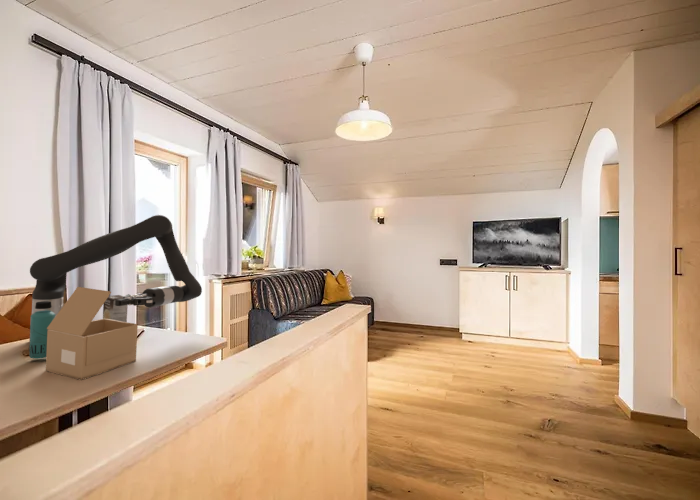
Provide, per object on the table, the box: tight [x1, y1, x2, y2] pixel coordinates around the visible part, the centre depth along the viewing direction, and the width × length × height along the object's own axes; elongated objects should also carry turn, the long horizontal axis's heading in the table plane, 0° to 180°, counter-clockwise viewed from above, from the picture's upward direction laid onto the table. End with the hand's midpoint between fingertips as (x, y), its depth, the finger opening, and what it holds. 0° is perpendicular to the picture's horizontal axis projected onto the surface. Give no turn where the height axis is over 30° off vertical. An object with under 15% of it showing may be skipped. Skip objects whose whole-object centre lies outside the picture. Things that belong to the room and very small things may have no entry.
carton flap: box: [47, 286, 112, 336], centre depth 108 cm, size 15×15×1 cm
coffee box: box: [102, 294, 129, 322], centre depth 150 cm, size 9×6×16 cm
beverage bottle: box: [28, 301, 55, 360], centre depth 115 cm, size 6×7×20 cm
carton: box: [45, 318, 138, 381], centre depth 113 cm, size 17×18×13 cm
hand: (116, 303), depth 120 cm, fingers closed
